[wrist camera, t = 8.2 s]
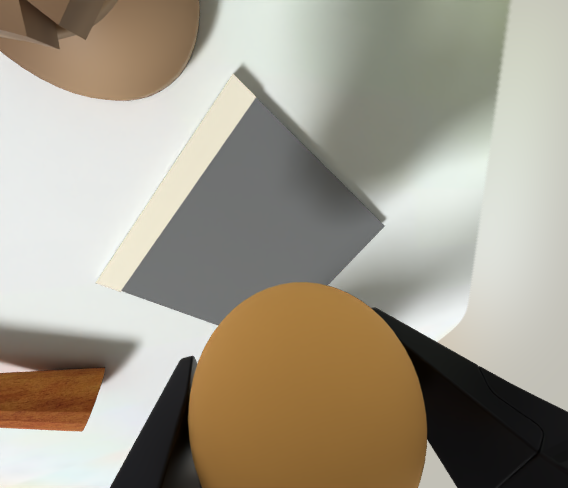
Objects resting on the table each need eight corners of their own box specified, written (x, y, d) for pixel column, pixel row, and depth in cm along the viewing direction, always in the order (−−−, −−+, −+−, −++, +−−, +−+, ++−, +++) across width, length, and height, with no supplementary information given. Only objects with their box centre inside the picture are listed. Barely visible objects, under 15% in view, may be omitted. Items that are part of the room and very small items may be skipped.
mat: (99, 277, 13) (95, 283, 12) (231, 75, 10) (232, 73, 10) (269, 339, 19) (271, 345, 18) (381, 223, 16) (385, 226, 16)
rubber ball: (380, 339, 11) (540, 371, 5) (313, 492, 9) (445, 857, 3) (264, 264, 11) (283, 208, 5) (175, 399, 9) (37, 564, 3)
